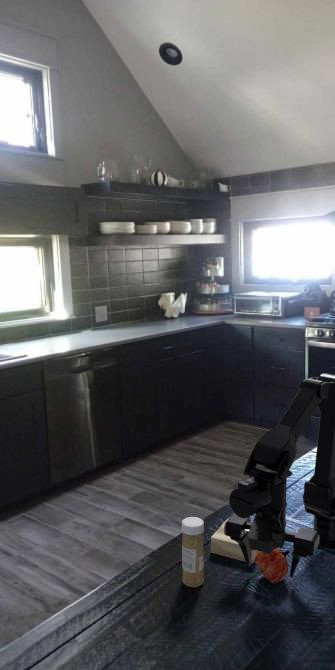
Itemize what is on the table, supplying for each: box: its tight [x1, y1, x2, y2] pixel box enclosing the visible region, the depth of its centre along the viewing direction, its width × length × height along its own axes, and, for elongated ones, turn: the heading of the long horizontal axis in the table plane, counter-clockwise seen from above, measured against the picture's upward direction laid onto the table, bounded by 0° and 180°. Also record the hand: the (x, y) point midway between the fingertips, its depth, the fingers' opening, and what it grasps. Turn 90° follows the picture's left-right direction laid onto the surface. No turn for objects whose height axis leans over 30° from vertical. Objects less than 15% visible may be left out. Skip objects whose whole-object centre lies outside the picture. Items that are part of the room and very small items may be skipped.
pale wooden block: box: [210, 518, 259, 565], centre depth 131 cm, size 10×10×4 cm
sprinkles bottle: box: [181, 516, 205, 588], centre depth 117 cm, size 5×5×14 cm
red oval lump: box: [250, 548, 292, 584], centre depth 118 cm, size 7×7×10 cm
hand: (270, 571), depth 118 cm, fingers open, 9 cm apart
